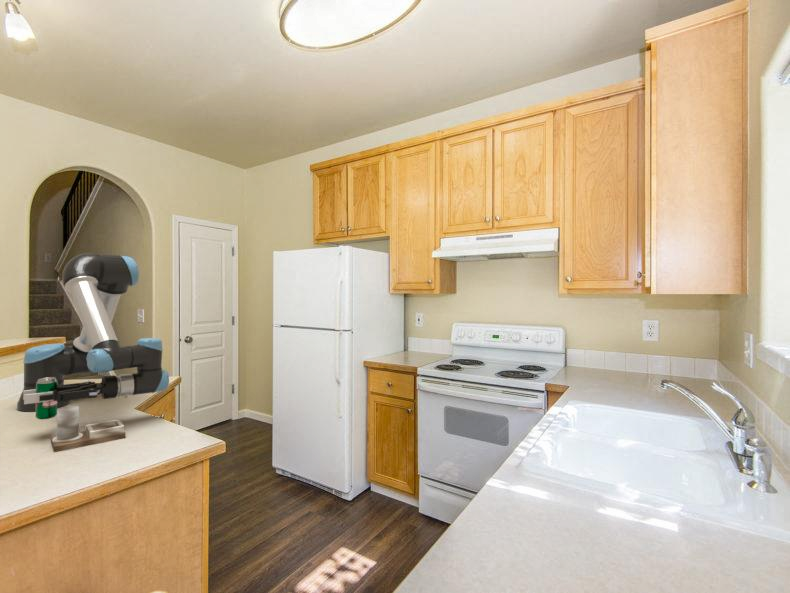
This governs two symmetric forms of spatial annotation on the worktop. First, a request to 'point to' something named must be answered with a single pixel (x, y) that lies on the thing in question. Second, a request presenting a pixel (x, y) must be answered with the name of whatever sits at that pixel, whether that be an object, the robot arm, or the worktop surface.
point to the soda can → (50, 407)
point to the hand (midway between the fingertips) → (23, 397)
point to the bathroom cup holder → (94, 432)
